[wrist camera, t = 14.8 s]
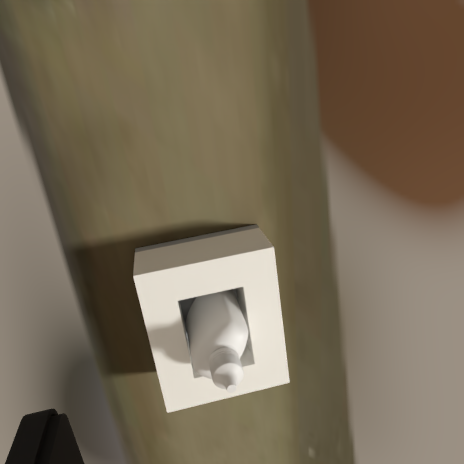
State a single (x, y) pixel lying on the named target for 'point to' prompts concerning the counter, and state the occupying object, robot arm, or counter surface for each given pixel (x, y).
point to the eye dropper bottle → (217, 338)
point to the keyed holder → (202, 283)
